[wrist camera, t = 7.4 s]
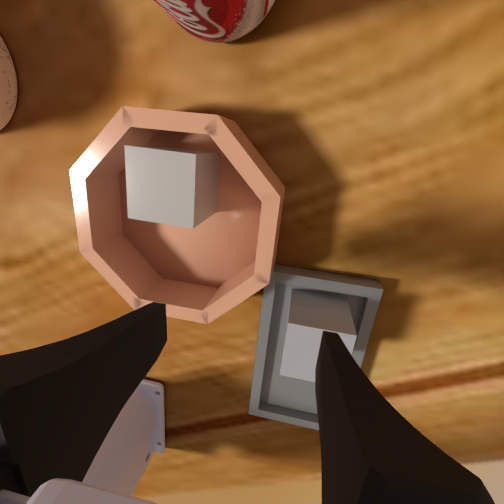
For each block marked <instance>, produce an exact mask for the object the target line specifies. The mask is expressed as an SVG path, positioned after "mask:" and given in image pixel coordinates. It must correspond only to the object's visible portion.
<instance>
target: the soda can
mask: <svg viewBox="0 0 504 504" xmlns="http://www.w3.org/2000/svg"><path fill="white" fill-rule="evenodd" d="M154 1H155V2H156V3H157V4H158V5H159V6H160V7H161V8H163V9H164V10H165V11H166V12H167V13H168V14H169V15H170V16H171V17H172V18H173V19H174V20H175V21H176V22H177V23H178V24H179V25H180V26H181V27H182V28H183V29H185V30H186V31H187V32H189V33H190V34H192V35H193V36H195V37H197V38H199V39H202V40H205V41H208V42H214V43H224V42H229V41H233V40H236V39H238V38H241V37H243V36H244V35H246V34H248V33H249V32H251V31H252V30H253V29H255V28H256V27H257V26H258V25H259V24H260V23H261V22H262V20H263V19H264V18H265V17H266V15H267V14H268V12H269V11H270V9H271V7H272V6H273V4H274V2H275V0H154Z"/></svg>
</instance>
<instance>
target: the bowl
mask: <svg viewBox="0 0 504 504" xmlns="http://www.w3.org/2000/svg"><path fill="white" fill-rule="evenodd" d="M124 145H139V146H168V147H177V148H185V149H193V150H201V151H209V152H217V153H220V168H219V183H218V199H217V212H216V213H215V214H213V215H212V216H210V217H209V218H208V219H206V220H205V221H203V222H202V223H201V224H199V225H198V226H196V227H195V228H194V229H192V228H186V227H180V226H174V225H167V224H161V223H155V222H149V221H142V220H136V219H130V218H128V209H127V189H126V168H125V148H124ZM69 171H70V179H71V187H72V195H73V202H74V210H75V218H76V226H77V233H78V241H79V249H80V253H81V254H82V255H83V256H84V257H85V258H86V259H87V260H88V261H89V262H90V263H91V264H92V265H93V267H94V268H95V269H96V270H97V271H98V272H99V273H100V274H101V275H102V276H103V277H104V278H105V279H106V280H107V281H108V282H109V283H110V285H111V286H112V287H113V288H114V289H115V290H116V291H117V292H118V293H119V294H120V295H121V296H122V297H123V298H124V299H125V300H126V301H127V303H128V304H129V305H130V306H131V307H132V308H133V309H134V310H136V309H138V308H141V307H143V306H145V305H147V304H149V303H152V302H158V303H164V304H166V316H168V317H173V318H178V319H183V320H188V321H194V322H199V323H204V324H209V323H210V322H212V321H213V320H215V319H216V318H218V317H219V316H221V315H222V314H224V313H225V312H227V311H228V310H230V309H232V308H233V307H235V306H236V305H238V304H239V303H241V302H242V301H244V300H245V299H247V298H248V297H250V296H251V295H253V294H254V293H256V292H257V291H259V290H260V289H262V288H264V287H265V286H267V285H268V284H269V283H270V279H271V275H272V272H273V268H274V265H275V261H276V254H277V246H278V239H279V232H280V224H281V217H282V209H283V202H284V195H285V186H284V185H283V184H282V182H281V181H280V180H279V178H278V177H277V176H276V174H275V173H274V172H273V171H272V169H271V168H270V167H269V165H268V164H267V163H266V161H265V160H264V159H263V157H262V156H261V155H260V153H259V152H258V151H257V149H256V148H255V147H254V145H253V144H252V143H251V142H250V140H249V139H248V138H247V136H246V135H245V134H244V132H243V131H242V130H241V128H240V127H239V126H238V124H237V123H236V122H235V121H233V120H230V119H228V118H225V117H222V116H220V115H214V114H203V113H192V112H181V111H170V110H159V109H148V108H137V107H126V106H122V107H121V109H120V110H119V111H118V112H117V113H116V115H115V116H114V117H113V118H112V119H111V121H110V122H109V123H108V124H107V125H106V127H105V128H104V129H103V130H102V131H101V133H100V134H99V135H98V136H97V138H96V139H95V140H94V141H93V142H92V144H91V145H90V146H89V147H88V148H87V150H86V151H85V152H84V153H83V154H82V156H81V157H80V158H79V159H78V160H77V162H76V163H75V164H74V165H73V166H72V168H71V169H70V170H69Z"/></svg>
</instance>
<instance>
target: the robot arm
mask: <svg viewBox="0 0 504 504" xmlns="http://www.w3.org/2000/svg"><path fill="white" fill-rule="evenodd" d="M166 341H167V322H166V304H164V303H158V302H152V303H149V304H147V305H145V306H143V307H141V308H138V309H136V310H134V311H132V312H130V313H128V314H126V315H124V316H122V317H120V318H117V319H115V320H113V321H111V322H109V323H106V324H104V325H102V326H99V327H97V328H95V329H92V330H90V331H87V332H85V333H82V334H79V335H77V336H74V337H71V338H68V339H65V340H62V341H58V342H55V343H51V344H48V345H44V346H41V347H37V348H33V349H29V350H25V351H21V352H16V353H11V354H6V355H1V356H0V504H156V503H154V502H151V501H148V500H144V499H141V498H137V497H133V496H132V495H133V493H134V491H135V489H136V487H137V485H138V483H139V481H140V479H141V477H142V475H143V473H144V471H145V469H146V467H147V465H148V463H149V461H150V459H151V457H152V455H153V453H154V452H158V453H163V452H164V450H165V412H164V386H163V385H162V384H161V383H159V382H154V381H150V380H145V379H144V377H145V376H146V374H147V373H148V372H149V370H150V369H151V367H152V366H153V364H154V363H155V362H156V360H157V359H158V357H159V355H160V353H161V351H162V349H163V347H164V345H165V343H166ZM315 394H316V404H317V414H318V423H319V433H320V442H321V459H322V504H495V503H494V501H493V499H492V497H491V496H490V494H489V492H488V491H487V489H486V487H485V486H484V484H483V482H482V481H481V479H480V478H479V477H477V476H476V475H474V474H473V473H472V472H470V471H469V470H467V469H466V468H465V467H463V466H462V465H461V464H459V463H458V462H457V461H455V460H454V459H452V458H451V457H450V456H448V455H447V454H446V453H444V452H443V451H442V450H441V449H439V448H438V447H437V446H436V445H434V444H433V443H432V442H431V441H430V440H428V439H427V438H426V437H425V436H424V435H422V434H421V433H420V432H419V431H418V430H417V429H415V428H414V427H413V426H412V425H411V424H410V423H409V422H408V421H407V420H406V419H405V418H404V417H403V416H402V415H400V414H399V413H398V412H397V411H396V410H395V409H394V408H393V407H392V406H391V404H390V403H389V402H388V401H387V400H386V399H385V398H384V397H383V396H382V395H381V394H380V393H379V391H378V390H377V389H376V388H375V387H374V385H373V384H372V383H371V382H370V380H369V379H368V378H367V377H366V375H365V374H364V372H363V371H362V370H361V368H360V367H359V365H358V364H357V363H356V361H355V360H354V358H353V357H352V355H351V354H350V352H349V350H348V349H347V347H346V346H345V344H344V342H343V341H342V339H341V337H340V336H339V334H338V333H334V332H328V331H323V333H322V338H321V343H320V348H319V353H318V358H317V363H316V368H315Z"/></svg>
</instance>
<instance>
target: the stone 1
mask: <svg viewBox="0 0 504 504" xmlns="http://www.w3.org/2000/svg"><path fill="white" fill-rule="evenodd" d="M124 148H125V168H126V189H127V209H128V218H130V219H136V220H142V221H149V222H155V223H161V224H167V225H174V226H180V227H186V228H192V229H194V228H195V227H196V226H198V225H199V224H201V223H202V222H203V221H205V220H206V219H208V218H209V217H210V216H212V215H213V214H215V213H216V212H217V199H218V183H219V168H220V153H217V152H209V151H201V150H193V149H185V148H177V147H168V146H139V145H124Z"/></svg>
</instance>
